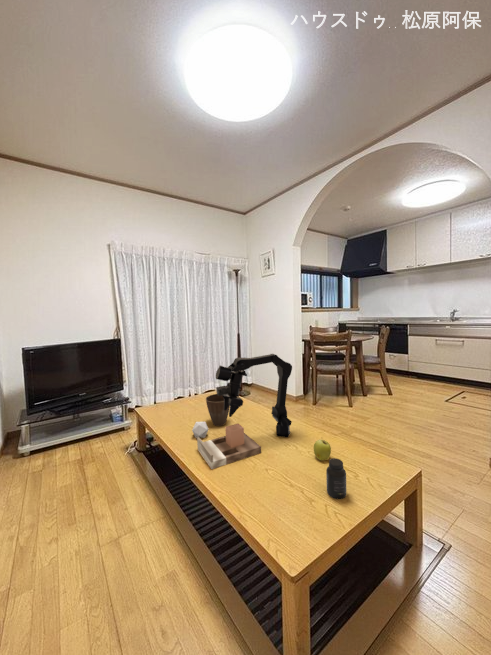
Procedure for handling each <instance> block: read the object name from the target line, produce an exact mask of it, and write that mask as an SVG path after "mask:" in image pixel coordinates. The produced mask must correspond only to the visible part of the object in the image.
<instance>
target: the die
mask: <svg viewBox="0 0 491 655" xmlns="http://www.w3.org/2000/svg"><path fill="white" fill-rule="evenodd" d="M191 431H192V433H193V436H194V438H195V439H197V438H198V437H199V438H200V439H204V438H206V436H207V434H208V431H209V427H208V425H207V422H206V421H195V423H194V425H193V426H192V430H191Z"/></svg>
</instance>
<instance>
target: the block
mask: <svg viewBox="0 0 491 655" xmlns="http://www.w3.org/2000/svg"><path fill="white" fill-rule="evenodd" d="M244 433H245V428H244V426H242V425H241V424H240V423H235V424H234V423H233V424H231V425H226V426H225V436H226V443H227V444H228V445H229V446H230V447H231V448H232V447H236V446H239V445H242V444H244Z"/></svg>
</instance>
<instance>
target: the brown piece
mask: <svg viewBox="0 0 491 655" xmlns="http://www.w3.org/2000/svg"><path fill="white" fill-rule="evenodd" d="M196 441H197V450H198V452H199V454H200V455H201V456H202V458H203V459H204V461H205V462H206V463H207V465H208V467H209V468H210V469H211V470H213V469H217V468H220V467H223V466H225V465H228V464H232V463H235V462H237V461H241V460H244V459H246V458H250V457H252V456H255V455H259V454H261V453H262V446H261V445H260V444H258V442H257V441H255V440H253V438H251V437H250V436H249V435H248V434H246V432H244V444H242V445H239V446H236V447H232V448H231V447H230V446H229V445H228V444H227V443H226V435H223V436H220V437H216V438H212V439H209V440H206V441H203V440H202V438H199V437H198V438H196Z"/></svg>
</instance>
